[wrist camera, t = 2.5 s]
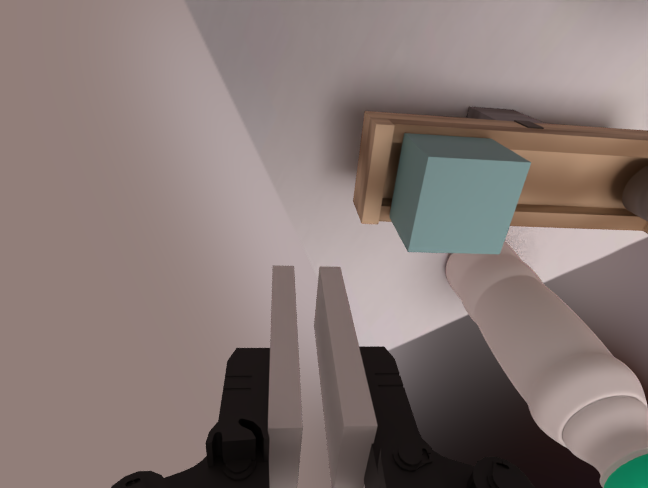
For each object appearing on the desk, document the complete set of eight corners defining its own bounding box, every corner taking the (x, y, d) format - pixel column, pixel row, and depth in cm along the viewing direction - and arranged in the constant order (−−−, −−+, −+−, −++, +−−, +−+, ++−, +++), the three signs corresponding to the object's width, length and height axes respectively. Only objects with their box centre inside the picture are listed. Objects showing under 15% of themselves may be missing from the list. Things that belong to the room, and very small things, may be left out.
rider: (398, 127, 28) (428, 156, 22) (481, 132, 28) (531, 162, 23) (384, 207, 31) (408, 251, 25) (460, 211, 31) (499, 254, 26)
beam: (354, 96, 33) (385, 133, 23) (618, 116, 36) (745, 155, 26) (344, 179, 37) (368, 242, 27) (586, 191, 40) (688, 251, 30)
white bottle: (521, 240, 42) (777, 482, 20) (490, 294, 45) (683, 553, 24) (460, 226, 40) (667, 472, 19) (432, 283, 44) (582, 549, 22)
